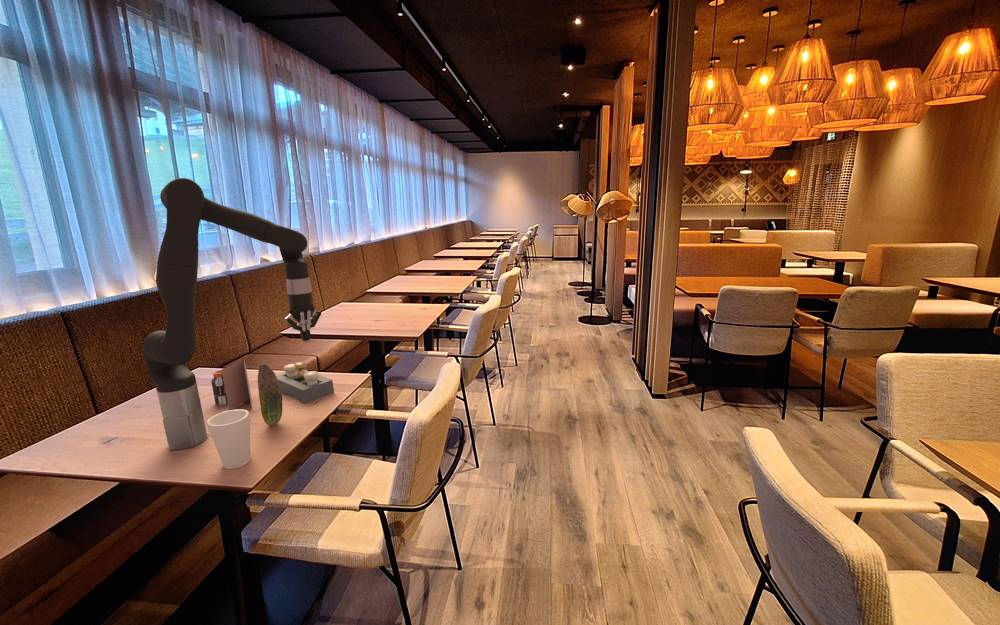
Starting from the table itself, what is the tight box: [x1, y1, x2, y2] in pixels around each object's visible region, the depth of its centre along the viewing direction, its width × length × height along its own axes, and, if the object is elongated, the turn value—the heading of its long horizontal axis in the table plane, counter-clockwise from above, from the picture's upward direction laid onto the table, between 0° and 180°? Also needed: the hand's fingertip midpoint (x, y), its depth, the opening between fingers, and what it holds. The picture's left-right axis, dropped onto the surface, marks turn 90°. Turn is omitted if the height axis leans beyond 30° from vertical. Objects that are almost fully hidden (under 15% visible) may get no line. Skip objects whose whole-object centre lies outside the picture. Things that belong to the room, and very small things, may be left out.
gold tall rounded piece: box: [293, 361, 307, 382], centre depth 162 cm, size 4×4×7 cm
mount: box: [276, 368, 335, 405], centre depth 163 cm, size 22×11×5 cm, turn 52°
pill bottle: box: [210, 369, 228, 406], centre depth 155 cm, size 6×6×11 cm
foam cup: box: [206, 408, 252, 470], centre depth 117 cm, size 10×9×13 cm
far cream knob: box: [283, 363, 297, 378], centre depth 166 cm, size 5×5×7 cm
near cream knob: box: [304, 370, 319, 386], centre depth 158 cm, size 5×5×7 cm
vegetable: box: [257, 363, 283, 427], centre depth 136 cm, size 6×6×20 cm
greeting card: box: [221, 357, 253, 411], centre depth 152 cm, size 11×7×15 cm, turn 175°
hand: (306, 340), depth 154 cm, fingers closed
